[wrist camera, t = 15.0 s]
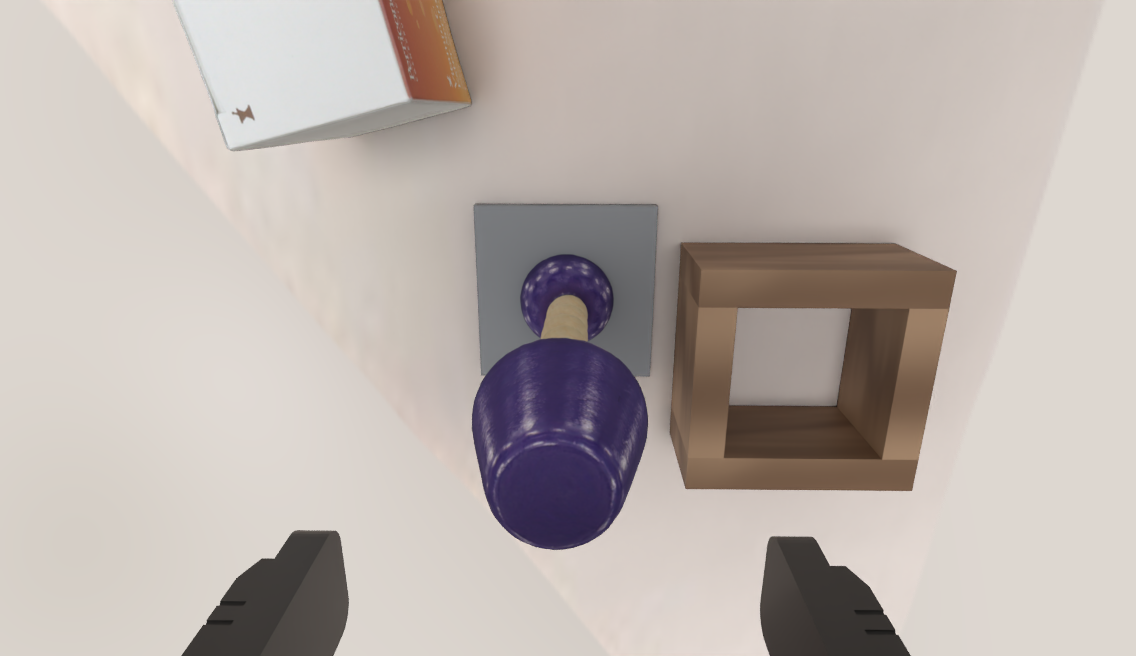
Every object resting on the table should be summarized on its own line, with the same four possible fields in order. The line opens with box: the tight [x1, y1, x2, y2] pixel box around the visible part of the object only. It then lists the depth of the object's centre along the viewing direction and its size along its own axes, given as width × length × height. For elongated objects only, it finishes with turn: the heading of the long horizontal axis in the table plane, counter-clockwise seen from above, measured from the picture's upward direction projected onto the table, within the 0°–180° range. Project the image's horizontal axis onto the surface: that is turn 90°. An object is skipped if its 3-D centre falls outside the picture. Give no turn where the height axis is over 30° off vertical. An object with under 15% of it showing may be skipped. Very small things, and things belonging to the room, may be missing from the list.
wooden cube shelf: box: [670, 243, 957, 491], centre depth 29 cm, size 10×10×5 cm
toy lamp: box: [472, 254, 648, 550], centre depth 22 cm, size 5×5×17 cm
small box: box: [172, 0, 471, 151], centre depth 22 cm, size 8×6×10 cm
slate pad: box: [474, 204, 658, 376], centre depth 30 cm, size 8×8×1 cm
